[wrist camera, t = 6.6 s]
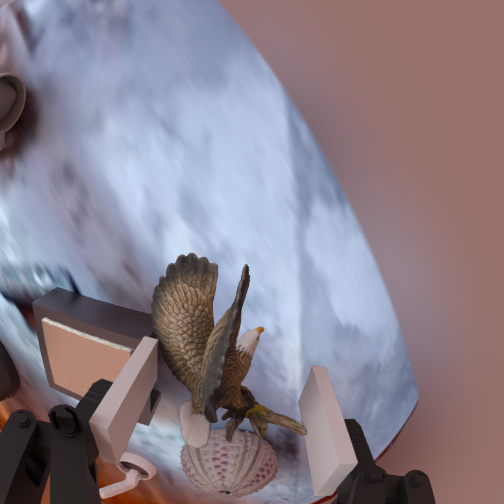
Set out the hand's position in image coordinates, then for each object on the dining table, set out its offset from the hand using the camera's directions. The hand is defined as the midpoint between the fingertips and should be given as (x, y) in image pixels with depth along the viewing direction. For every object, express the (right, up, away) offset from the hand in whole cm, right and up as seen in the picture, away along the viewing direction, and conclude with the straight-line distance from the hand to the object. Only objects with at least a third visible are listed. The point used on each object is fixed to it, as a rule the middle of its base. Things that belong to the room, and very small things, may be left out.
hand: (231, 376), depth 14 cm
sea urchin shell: (-2, -21, +19) cm, 29 cm away
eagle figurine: (0, +2, +1) cm, 3 cm away
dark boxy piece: (-16, -5, +15) cm, 23 cm away
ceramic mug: (-31, +24, +9) cm, 41 cm away
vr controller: (-19, -30, +22) cm, 41 cm away
